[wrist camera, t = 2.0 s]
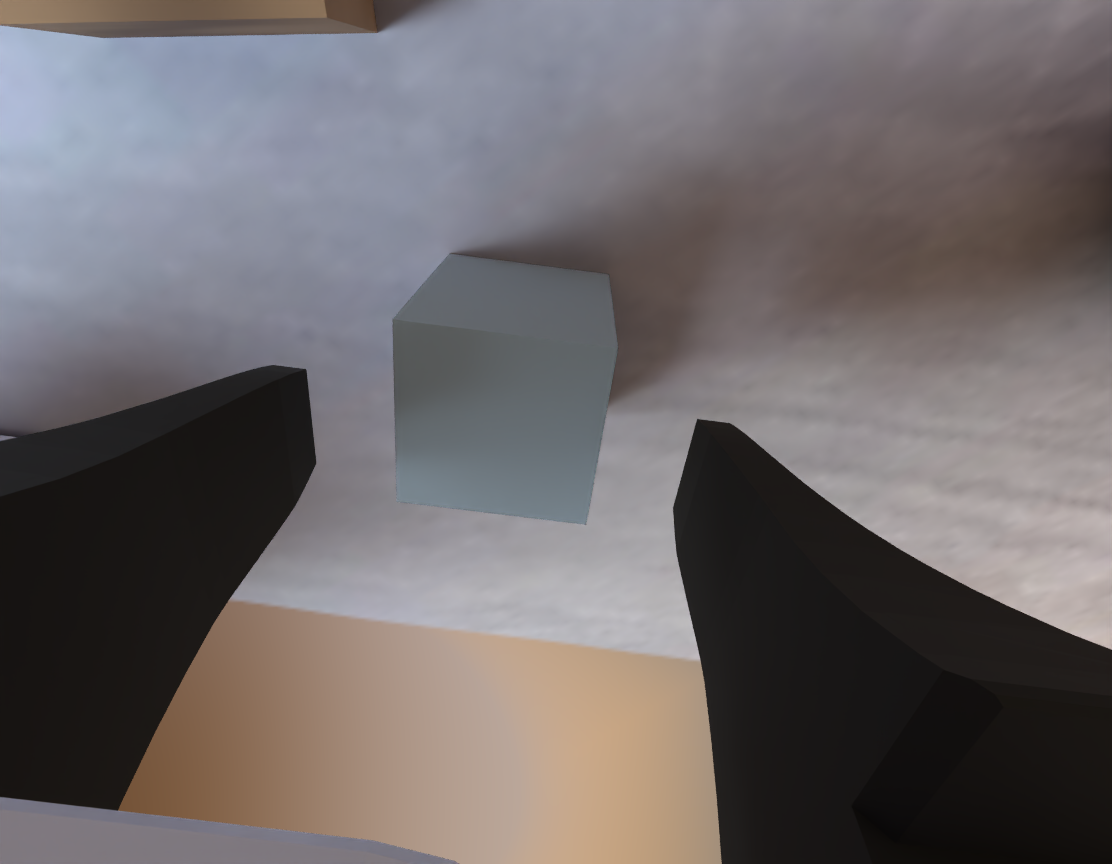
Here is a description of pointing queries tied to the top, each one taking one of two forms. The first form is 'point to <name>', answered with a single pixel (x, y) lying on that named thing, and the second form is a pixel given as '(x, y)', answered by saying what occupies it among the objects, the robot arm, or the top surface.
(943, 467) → the top surface
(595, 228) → the top surface
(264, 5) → the walnut block
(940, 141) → the top surface
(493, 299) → the grayish teal block
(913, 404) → the top surface
